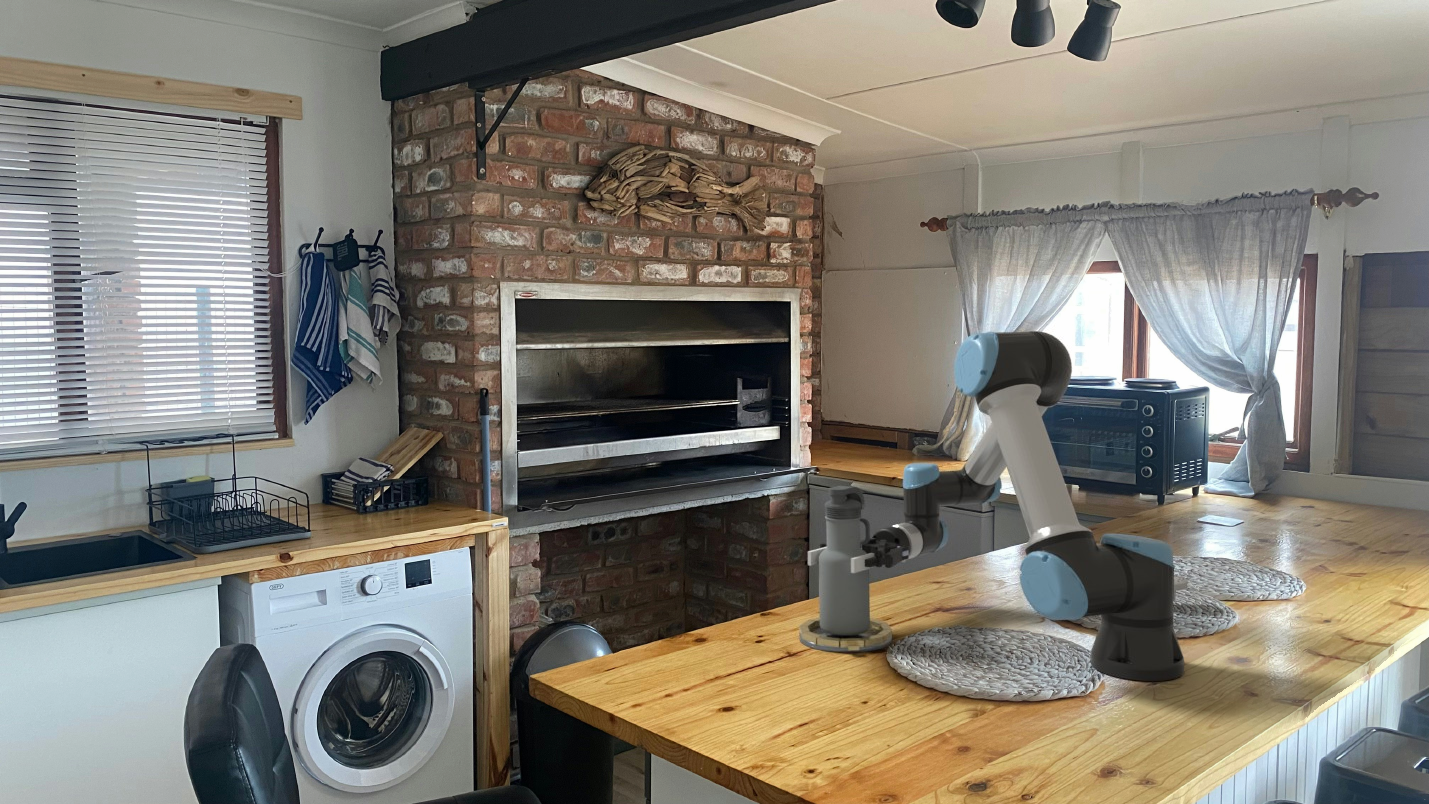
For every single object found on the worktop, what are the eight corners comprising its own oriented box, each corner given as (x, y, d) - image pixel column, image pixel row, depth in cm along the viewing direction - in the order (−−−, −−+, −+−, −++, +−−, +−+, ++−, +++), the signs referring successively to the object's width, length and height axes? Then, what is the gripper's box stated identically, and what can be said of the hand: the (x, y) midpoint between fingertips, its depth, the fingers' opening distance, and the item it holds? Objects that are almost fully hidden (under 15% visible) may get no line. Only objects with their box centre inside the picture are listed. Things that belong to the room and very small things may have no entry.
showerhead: (1132, 569, 222) (1181, 570, 220) (1132, 601, 222) (1181, 603, 220) (1141, 579, 212) (1192, 580, 210) (1141, 613, 213) (1192, 614, 211)
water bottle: (838, 619, 206) (836, 482, 205) (880, 627, 200) (878, 485, 198) (810, 631, 198) (807, 488, 197) (853, 639, 192) (850, 492, 190)
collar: (902, 654, 189) (902, 642, 189) (805, 657, 188) (805, 645, 188) (881, 622, 210) (880, 611, 210) (794, 624, 210) (794, 614, 210)
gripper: (943, 569, 204) (879, 590, 188) (852, 554, 219) (786, 573, 203) (943, 532, 203) (878, 550, 187) (852, 520, 219) (785, 536, 203)
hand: (830, 562), depth 195 cm, fingers closed on water bottle, 10 cm apart
